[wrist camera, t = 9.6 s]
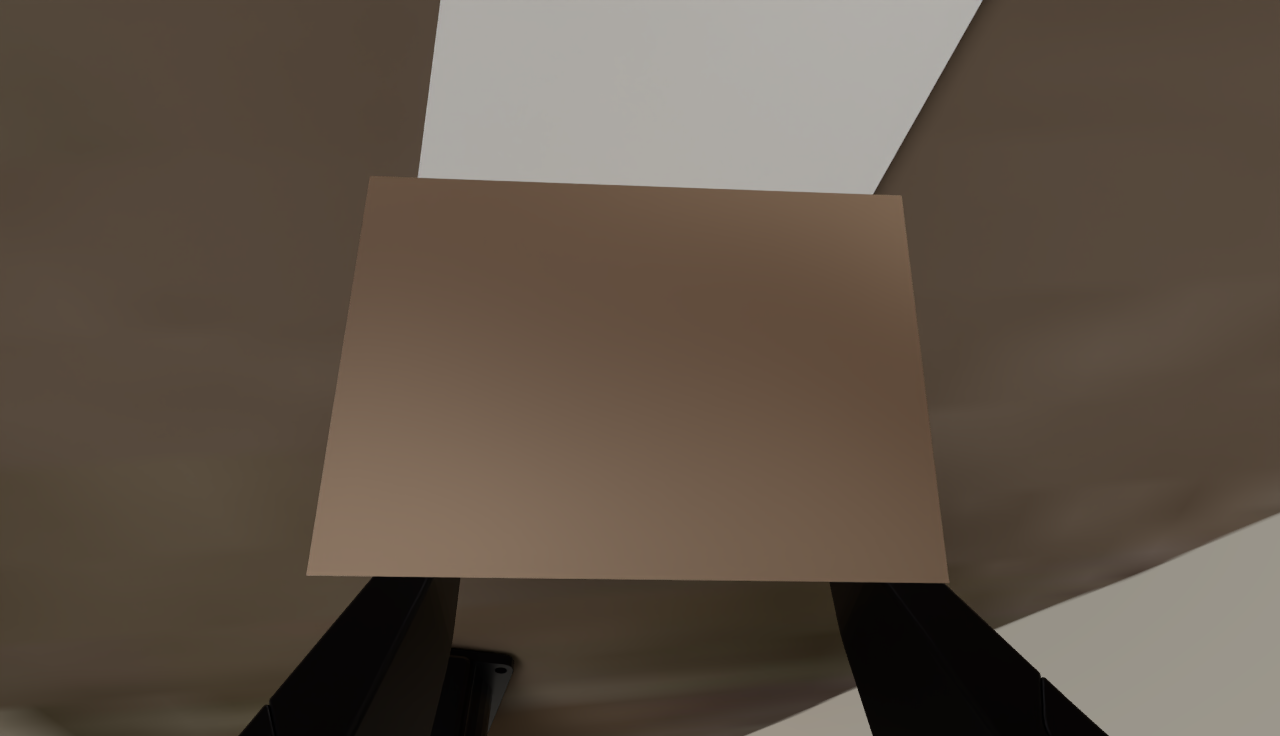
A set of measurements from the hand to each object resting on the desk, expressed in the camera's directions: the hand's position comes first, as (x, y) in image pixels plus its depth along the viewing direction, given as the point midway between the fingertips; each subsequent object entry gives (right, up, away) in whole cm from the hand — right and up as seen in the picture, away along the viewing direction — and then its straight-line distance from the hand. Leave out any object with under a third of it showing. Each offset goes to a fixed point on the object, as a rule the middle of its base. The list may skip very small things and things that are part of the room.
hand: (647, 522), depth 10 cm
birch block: (-1, -1, +8) cm, 8 cm away
